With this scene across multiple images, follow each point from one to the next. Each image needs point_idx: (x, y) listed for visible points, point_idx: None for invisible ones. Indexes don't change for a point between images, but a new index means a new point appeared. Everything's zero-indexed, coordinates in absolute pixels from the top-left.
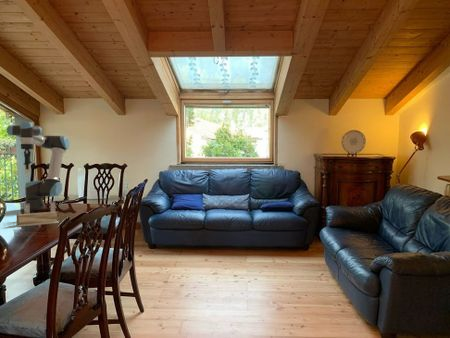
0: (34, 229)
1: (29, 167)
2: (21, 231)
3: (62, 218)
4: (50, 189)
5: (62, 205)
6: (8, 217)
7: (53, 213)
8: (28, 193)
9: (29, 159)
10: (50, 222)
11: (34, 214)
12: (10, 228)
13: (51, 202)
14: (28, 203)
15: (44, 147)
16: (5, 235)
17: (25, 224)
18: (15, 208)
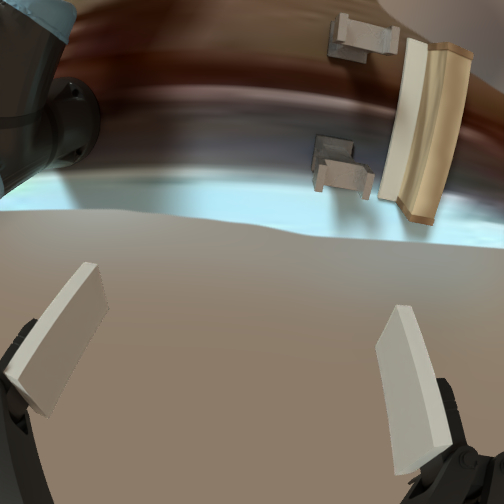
0: (499, 164)
1: (441, 394)
2: (493, 203)
3: (382, 12)
4: (51, 38)
5: None
6: (210, 218)
7: (467, 73)
8: (31, 170)
9: (20, 481)
10: None
11: (452, 155)
12: (433, 226)
13: (345, 35)
14: (321, 170)
15: None
16: (498, 245)
17: None
18: (39, 193)
